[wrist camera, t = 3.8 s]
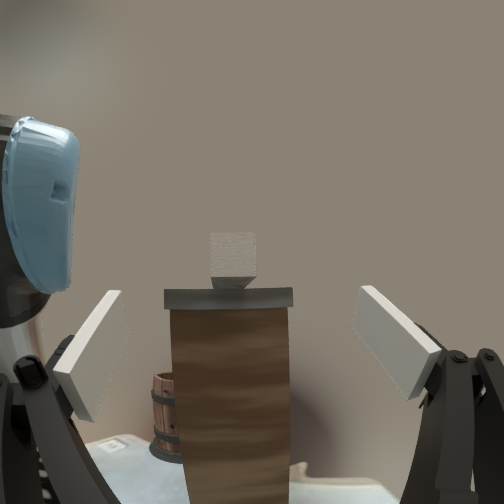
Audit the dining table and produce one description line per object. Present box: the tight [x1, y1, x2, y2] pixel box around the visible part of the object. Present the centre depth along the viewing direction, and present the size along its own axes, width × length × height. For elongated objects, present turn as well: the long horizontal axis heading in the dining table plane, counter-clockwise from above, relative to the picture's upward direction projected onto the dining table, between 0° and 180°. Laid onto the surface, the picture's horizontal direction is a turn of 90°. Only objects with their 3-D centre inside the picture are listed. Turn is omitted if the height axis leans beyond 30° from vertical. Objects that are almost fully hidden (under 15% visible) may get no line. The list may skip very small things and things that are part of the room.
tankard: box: [149, 372, 183, 464], centre depth 51 cm, size 24×17×20 cm
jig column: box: [164, 287, 293, 504], centre depth 29 cm, size 13×13×37 cm
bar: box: [211, 232, 257, 289], centre depth 34 cm, size 32×3×3 cm, turn 7°
